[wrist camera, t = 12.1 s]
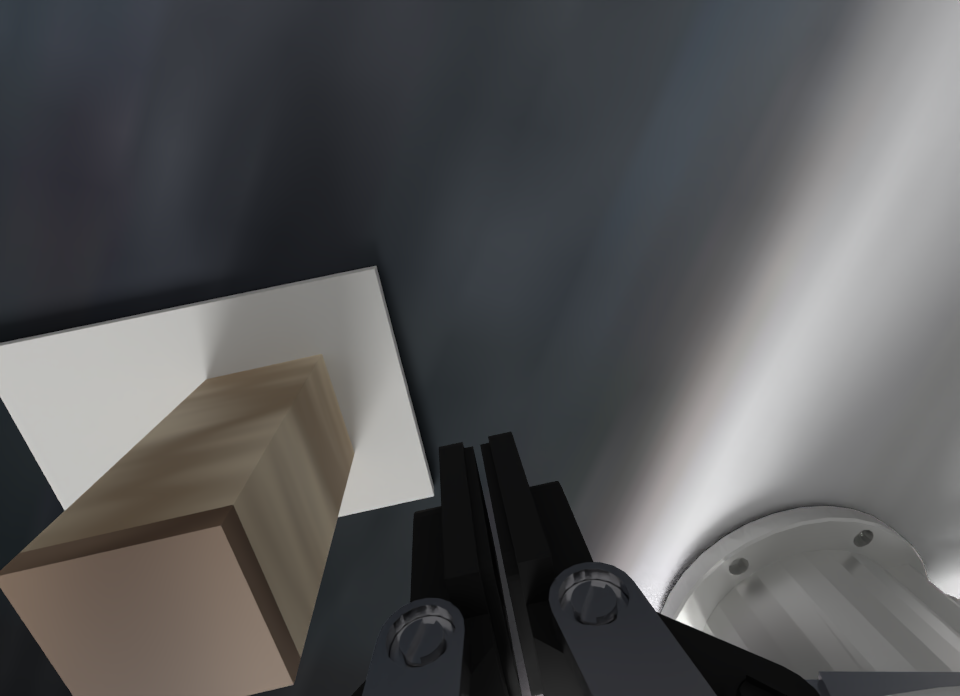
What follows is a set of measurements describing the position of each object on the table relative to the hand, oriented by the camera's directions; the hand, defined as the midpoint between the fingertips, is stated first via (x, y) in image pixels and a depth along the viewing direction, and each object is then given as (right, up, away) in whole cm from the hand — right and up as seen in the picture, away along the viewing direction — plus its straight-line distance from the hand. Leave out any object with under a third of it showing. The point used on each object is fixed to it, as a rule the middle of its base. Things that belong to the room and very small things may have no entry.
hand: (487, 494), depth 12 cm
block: (-7, +1, +6) cm, 10 cm away
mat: (-9, +1, +7) cm, 12 cm away
